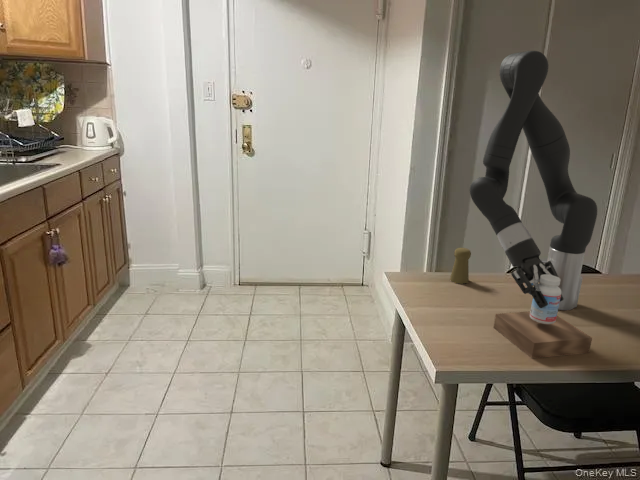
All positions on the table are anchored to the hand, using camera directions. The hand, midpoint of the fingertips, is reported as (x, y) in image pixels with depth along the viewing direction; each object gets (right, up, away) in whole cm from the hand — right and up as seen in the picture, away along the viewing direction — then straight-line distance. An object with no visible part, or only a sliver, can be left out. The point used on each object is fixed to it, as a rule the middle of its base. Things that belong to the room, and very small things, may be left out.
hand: (552, 303), depth 124 cm
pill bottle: (-1, -4, +3) cm, 5 cm away
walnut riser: (-1, -10, +4) cm, 10 cm away
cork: (-11, +2, +42) cm, 44 cm away
